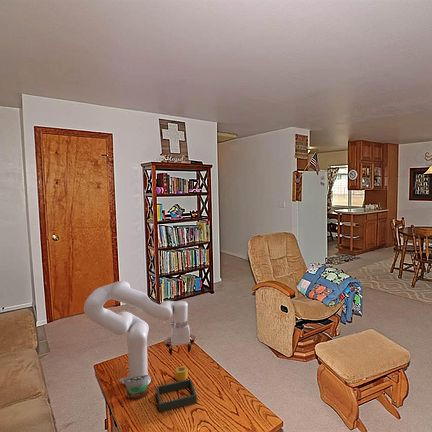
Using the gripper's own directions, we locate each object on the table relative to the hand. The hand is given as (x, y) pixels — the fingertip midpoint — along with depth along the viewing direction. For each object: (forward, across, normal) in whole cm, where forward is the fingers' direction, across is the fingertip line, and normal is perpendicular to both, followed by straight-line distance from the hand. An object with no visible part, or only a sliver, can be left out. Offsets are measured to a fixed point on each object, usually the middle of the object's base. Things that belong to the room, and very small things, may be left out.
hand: (179, 352), depth 192 cm
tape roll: (+15, +1, 0) cm, 15 cm away
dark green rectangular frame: (+15, -4, -18) cm, 24 cm away
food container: (+16, -22, -9) cm, 29 cm away
